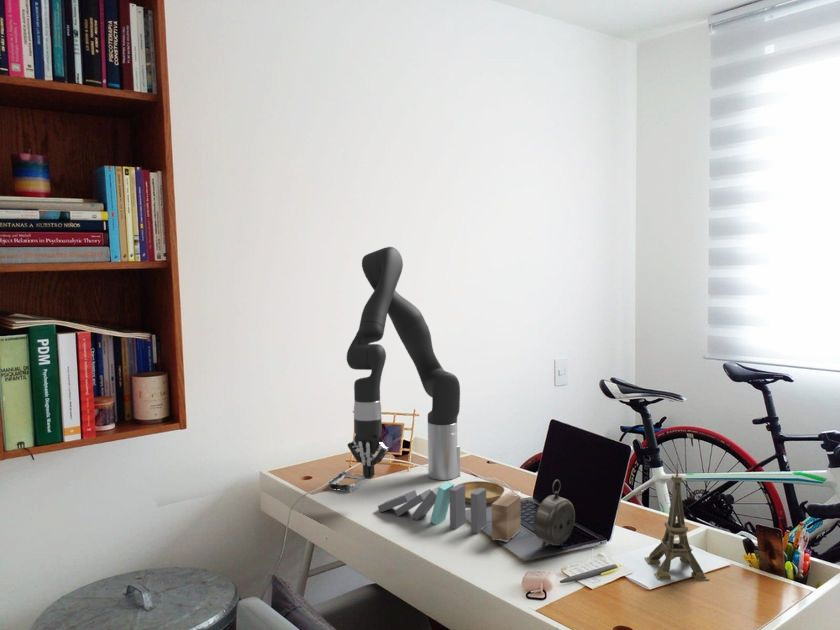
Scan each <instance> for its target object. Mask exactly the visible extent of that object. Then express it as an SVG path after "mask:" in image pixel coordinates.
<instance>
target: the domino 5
mask: <svg viewBox="0 0 840 630" xmlns="http://www.w3.org/2000/svg"><path fill="white" fill-rule="evenodd" d="M465 524H466V502H465V485H462V484H461V483H458V484H456V485H454V487H453V488H451V489H450V503H449V528H450V529H453V530H457V529H459V528H460V527H462V526H463V525H465Z"/></svg>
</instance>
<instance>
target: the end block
mask: <svg viewBox="0 0 840 630" xmlns="http://www.w3.org/2000/svg"><path fill="white" fill-rule="evenodd" d="M521 499H522V498H521V496H520V495H513V494H509V493H506V494H503V495H502V496H501V497H500V498H499V499H497V500H496V501H494V502H492V503H491V540H492V541H495V539H502V540H509V539H510V538H511V537H512V536H513V535H514V534H515V533H516V532H517V531H518V530H519V529H520V528H521V524H522V523H521V522H522V521H521V511H522V510H521V509H522V508H521V505H522V504H521ZM521 529H522V528H521Z"/></svg>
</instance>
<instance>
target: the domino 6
mask: <svg viewBox="0 0 840 630" xmlns="http://www.w3.org/2000/svg"><path fill="white" fill-rule="evenodd" d="M485 525H486V526H487V504H486V489H484V488H479V489H477V490H475V491H474V492H472V493H471V503H470V533H472V534H475V535H476V534H477V535H478V534H479V533H481V532H482V531H481V528H482V527H484V526H485Z"/></svg>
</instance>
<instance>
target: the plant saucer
mask: <svg viewBox="0 0 840 630" xmlns="http://www.w3.org/2000/svg"><path fill="white" fill-rule="evenodd" d="M460 484H462V485H465V503H468V504H471V493H472V492H474V491H475V490H477V489H479V488H484V489H486V505H487V504H492V503H494V502H495V501H496V500H498V499H499V498H501V497H502V496H503V495H504V493H505V490H506V489H505V488H504V487H503V486H502V485H500V484H498V483H496V482H493V481H492V482H491V481H483V480H482V481H480V480H478V481H477V480H475V481H466V482H462V483H460Z"/></svg>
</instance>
